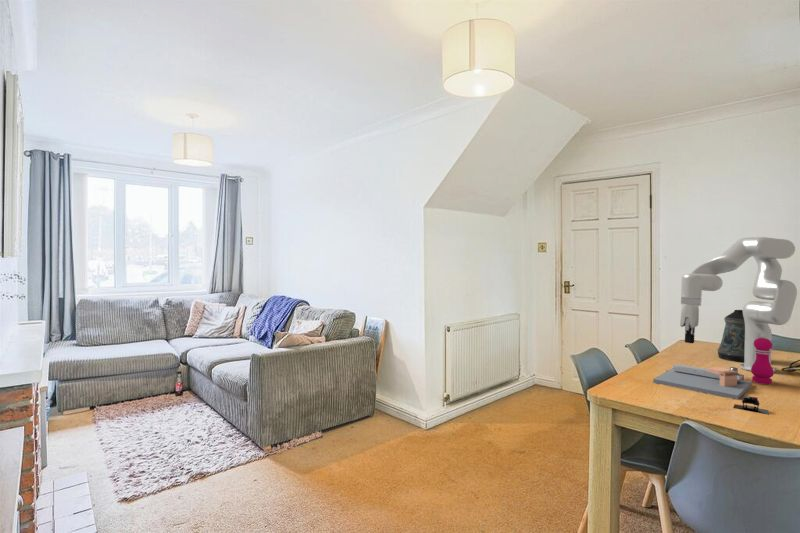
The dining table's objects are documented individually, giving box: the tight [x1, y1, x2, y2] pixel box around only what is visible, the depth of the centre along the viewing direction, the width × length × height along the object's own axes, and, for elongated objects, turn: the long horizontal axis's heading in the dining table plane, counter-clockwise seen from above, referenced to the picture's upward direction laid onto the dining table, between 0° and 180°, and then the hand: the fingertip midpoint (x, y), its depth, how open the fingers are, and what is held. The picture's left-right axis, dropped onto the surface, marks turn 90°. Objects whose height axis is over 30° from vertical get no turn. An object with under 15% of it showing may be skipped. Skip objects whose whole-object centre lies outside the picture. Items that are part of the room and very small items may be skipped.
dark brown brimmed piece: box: [732, 395, 770, 416], centre depth 147 cm, size 12×7×5 cm, turn 48°
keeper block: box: [707, 366, 737, 386], centre depth 172 cm, size 6×7×7 cm
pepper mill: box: [750, 334, 775, 385], centre depth 179 cm, size 7×7×20 cm
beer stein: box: [717, 309, 745, 364], centre depth 219 cm, size 16×19×25 cm
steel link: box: [672, 363, 745, 383], centre depth 181 cm, size 24×6×5 cm, turn 42°
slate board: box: [652, 367, 753, 400], centre depth 176 cm, size 26×28×2 cm
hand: (689, 342), depth 192 cm, fingers closed
